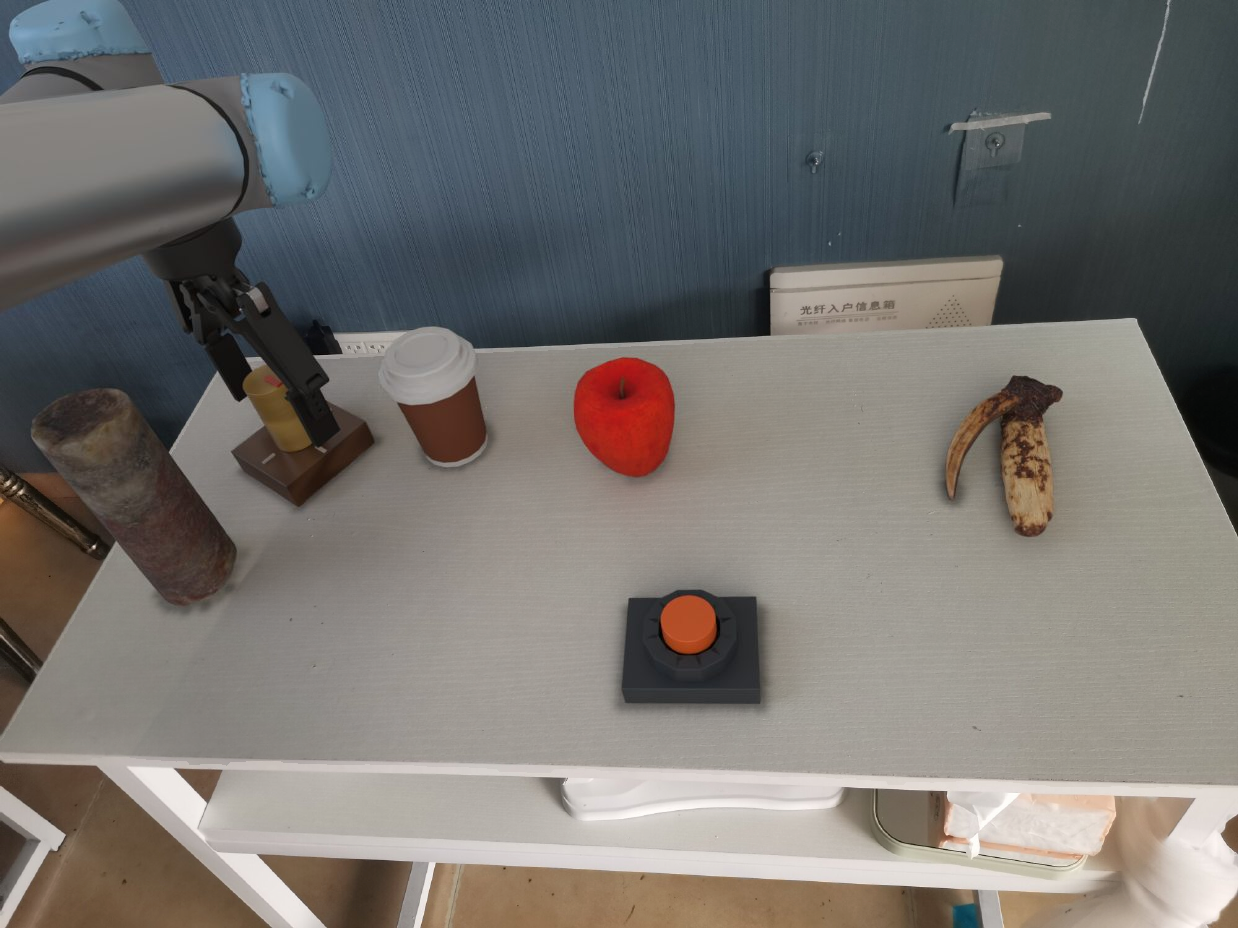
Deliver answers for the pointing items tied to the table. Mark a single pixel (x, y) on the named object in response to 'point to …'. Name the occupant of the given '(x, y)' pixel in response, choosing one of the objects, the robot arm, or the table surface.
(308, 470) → the panel
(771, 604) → the table surface
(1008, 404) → the lashed bone hook
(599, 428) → the apple
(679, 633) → the light button
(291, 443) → the dimmer knob
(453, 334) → the coffee cup
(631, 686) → the switch block
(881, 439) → the table surface
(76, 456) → the weathered brown cylinder
